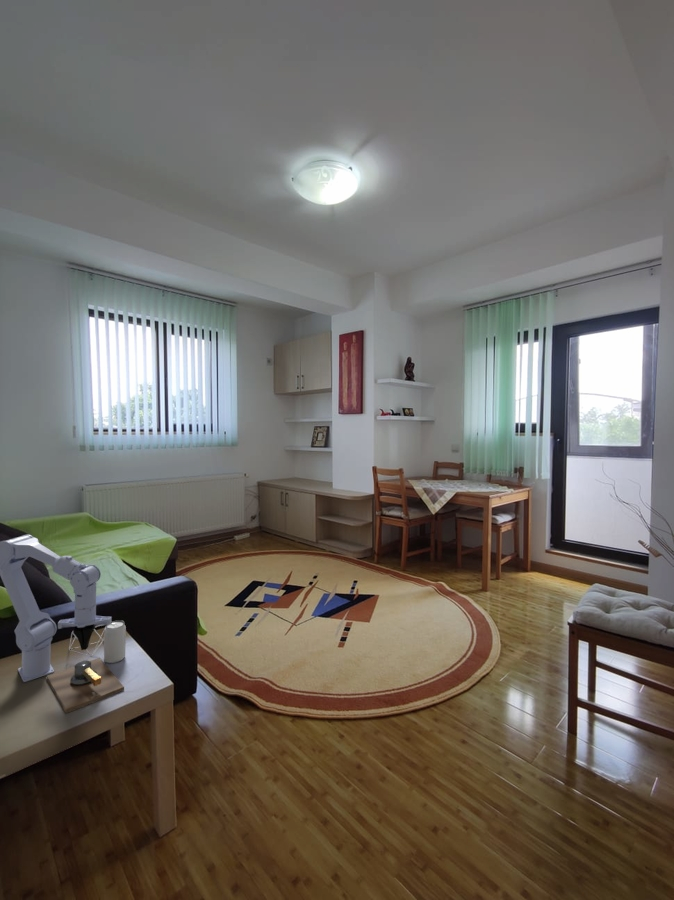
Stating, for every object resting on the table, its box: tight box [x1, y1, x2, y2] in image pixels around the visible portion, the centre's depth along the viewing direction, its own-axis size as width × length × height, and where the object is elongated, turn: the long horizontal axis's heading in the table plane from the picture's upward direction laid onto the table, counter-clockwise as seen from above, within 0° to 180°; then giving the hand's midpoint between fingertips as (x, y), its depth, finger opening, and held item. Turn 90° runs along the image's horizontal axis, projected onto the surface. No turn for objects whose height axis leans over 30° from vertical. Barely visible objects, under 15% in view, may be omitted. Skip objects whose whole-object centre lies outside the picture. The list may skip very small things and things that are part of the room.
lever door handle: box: [70, 660, 101, 686], centre depth 125 cm, size 13×7×4 cm, turn 52°
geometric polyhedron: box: [68, 625, 106, 657], centre depth 146 cm, size 12×11×9 cm
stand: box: [46, 657, 125, 714], centre depth 126 cm, size 22×15×1 cm
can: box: [103, 620, 127, 664], centre depth 140 cm, size 6×6×12 cm
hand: (84, 648), depth 129 cm, fingers closed
